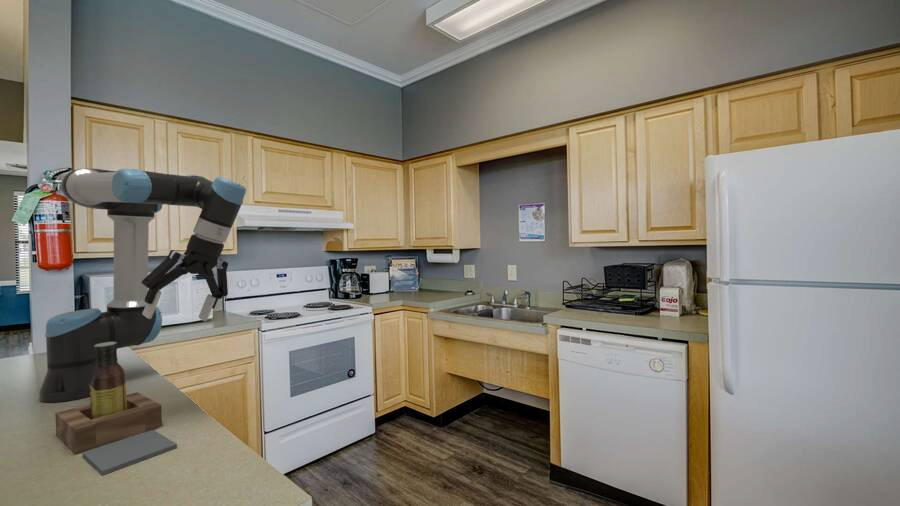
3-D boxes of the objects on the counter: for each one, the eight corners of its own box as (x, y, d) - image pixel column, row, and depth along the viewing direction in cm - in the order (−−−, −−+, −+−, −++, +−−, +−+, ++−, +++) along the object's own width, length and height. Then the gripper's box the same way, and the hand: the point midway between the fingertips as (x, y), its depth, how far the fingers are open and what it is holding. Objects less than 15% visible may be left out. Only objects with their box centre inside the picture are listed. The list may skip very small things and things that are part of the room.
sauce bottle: (106, 425, 95) (103, 340, 95) (134, 423, 96) (131, 339, 96) (83, 438, 89) (80, 347, 88) (114, 436, 89) (110, 346, 89)
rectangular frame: (56, 435, 91) (55, 413, 91) (137, 412, 103) (136, 392, 103) (75, 454, 82) (74, 429, 82) (162, 426, 94) (161, 404, 94)
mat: (82, 456, 81) (82, 452, 81) (153, 433, 91) (153, 429, 91) (102, 475, 74) (102, 471, 74) (176, 447, 84) (176, 443, 84)
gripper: (164, 230, 90) (126, 321, 89) (259, 252, 112) (230, 325, 111) (147, 221, 93) (111, 308, 92) (243, 244, 115) (214, 315, 115)
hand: (176, 318), depth 102 cm, fingers open, 13 cm apart
